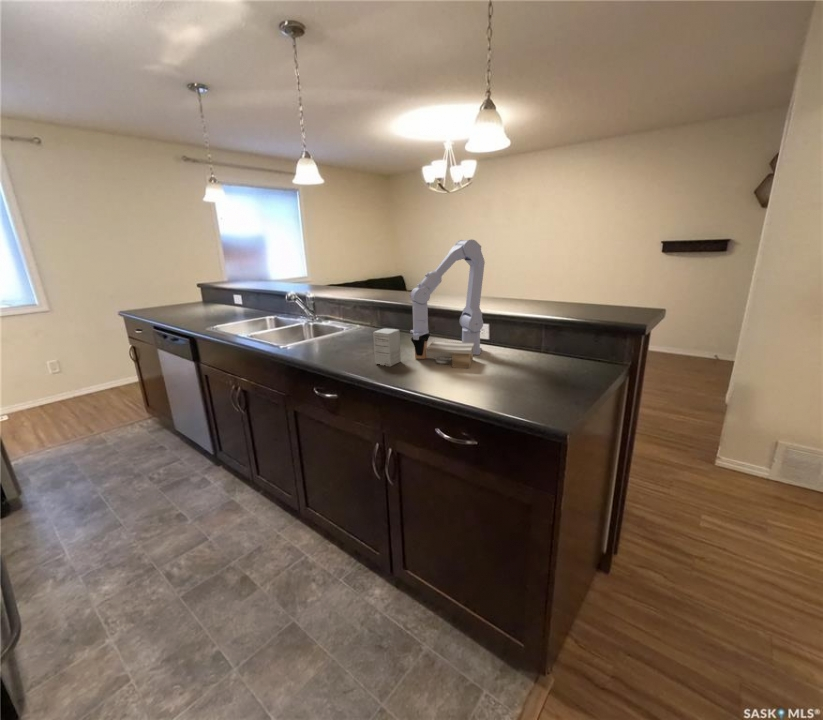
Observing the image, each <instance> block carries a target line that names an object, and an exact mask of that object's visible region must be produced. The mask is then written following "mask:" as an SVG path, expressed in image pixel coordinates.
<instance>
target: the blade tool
mask: <svg viewBox="0 0 823 720" xmlns="http://www.w3.org/2000/svg"><path fill="white" fill-rule="evenodd" d="M427 348H428V341H425V343H424V348H423V355H422V356H418V355H417V354H416V350H415V349H414V359H418V360H419V359H420V360H422V359H423V360H426V359H436V358H437V357H450V358H451V360H452V353H439V352H426V349H427Z"/></svg>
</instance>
